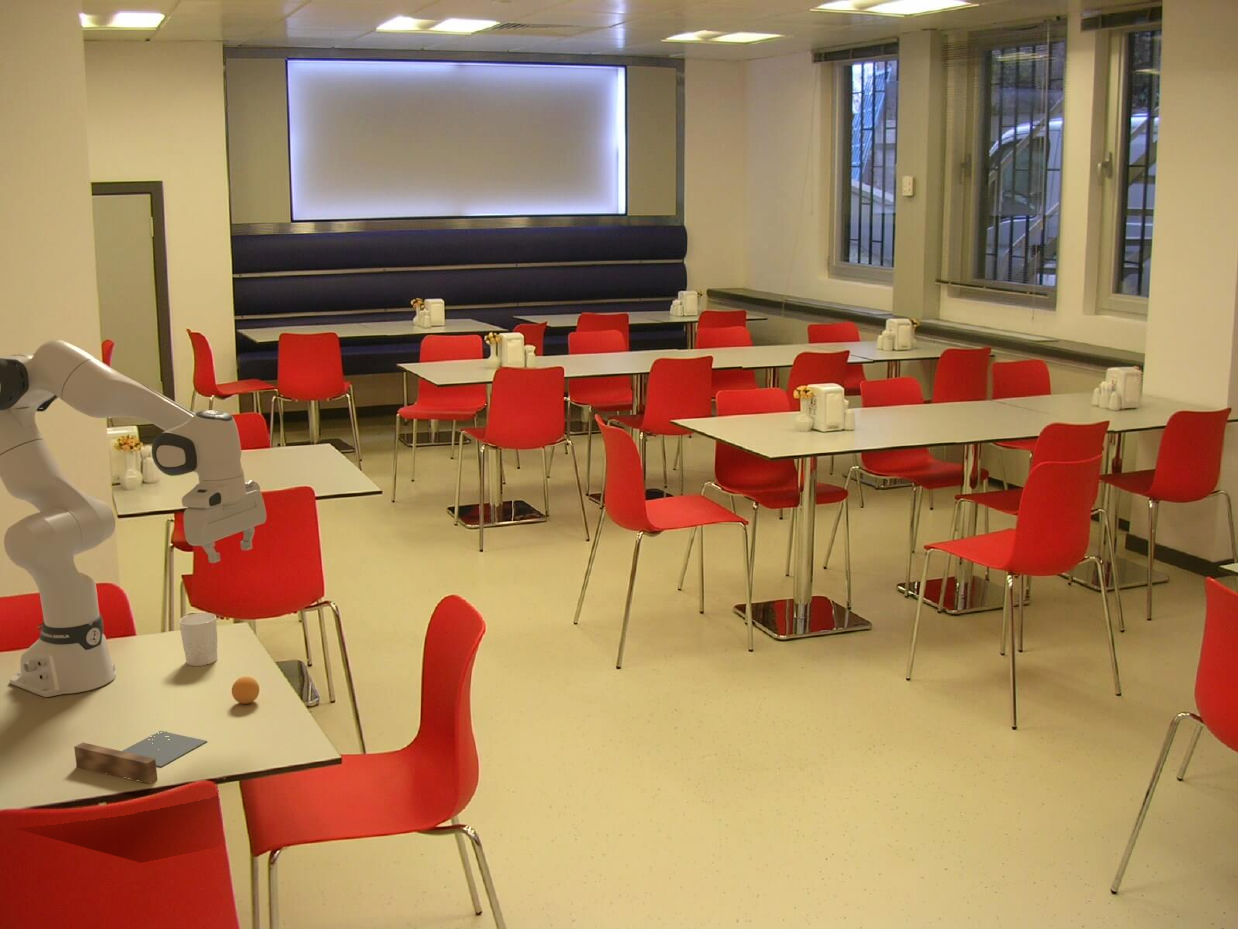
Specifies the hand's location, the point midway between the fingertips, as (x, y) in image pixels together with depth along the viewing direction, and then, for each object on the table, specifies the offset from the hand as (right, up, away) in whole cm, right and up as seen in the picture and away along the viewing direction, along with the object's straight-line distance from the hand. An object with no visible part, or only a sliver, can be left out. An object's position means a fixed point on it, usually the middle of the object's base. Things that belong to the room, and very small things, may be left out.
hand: (231, 555), depth 272 cm
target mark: (-8, -36, -19) cm, 41 cm away
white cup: (-14, -26, +26) cm, 39 cm away
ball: (+3, -28, +1) cm, 28 cm away
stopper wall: (-12, -38, -29) cm, 49 cm away
